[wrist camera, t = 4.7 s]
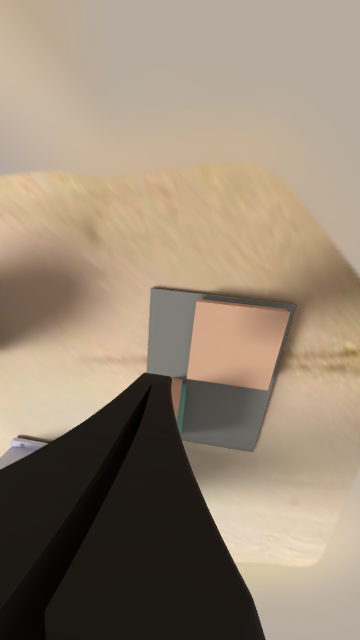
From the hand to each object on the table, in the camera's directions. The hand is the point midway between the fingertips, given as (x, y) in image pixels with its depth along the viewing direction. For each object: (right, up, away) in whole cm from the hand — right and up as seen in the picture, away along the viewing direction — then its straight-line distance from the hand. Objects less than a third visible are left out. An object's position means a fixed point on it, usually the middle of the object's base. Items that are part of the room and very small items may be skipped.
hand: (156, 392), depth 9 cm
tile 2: (+2, +2, +6) cm, 7 cm away
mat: (+4, -2, +8) cm, 9 cm away
